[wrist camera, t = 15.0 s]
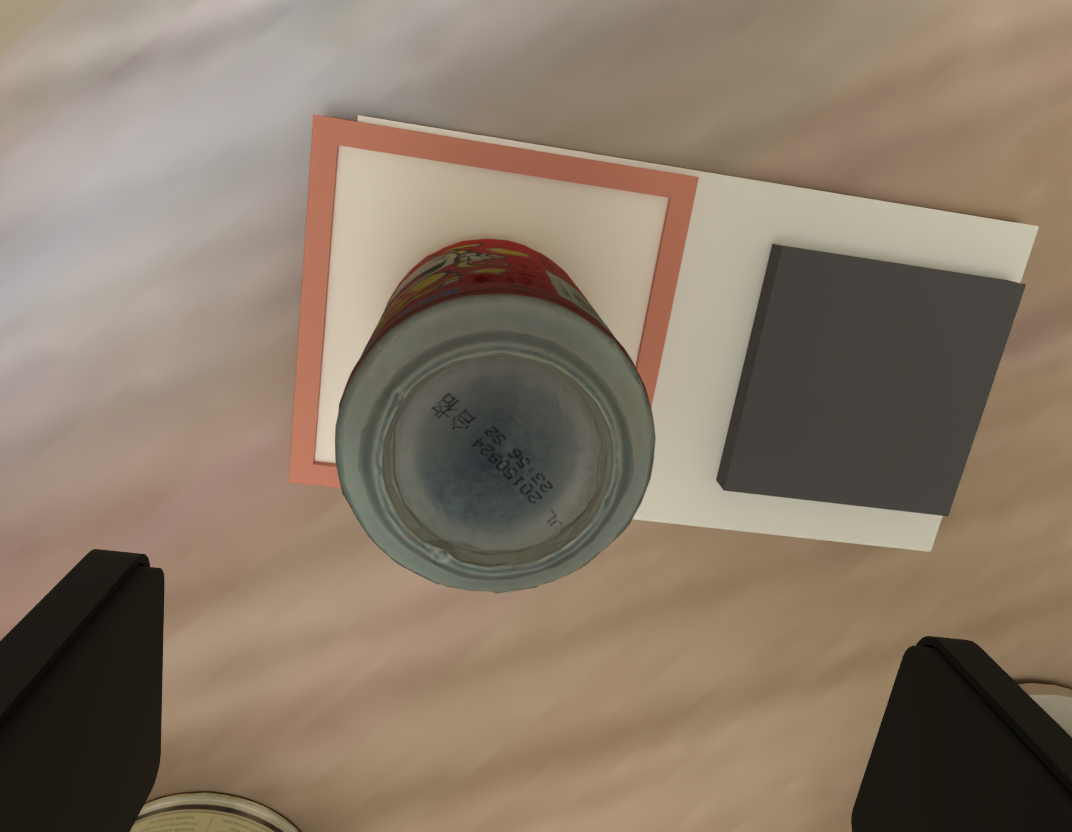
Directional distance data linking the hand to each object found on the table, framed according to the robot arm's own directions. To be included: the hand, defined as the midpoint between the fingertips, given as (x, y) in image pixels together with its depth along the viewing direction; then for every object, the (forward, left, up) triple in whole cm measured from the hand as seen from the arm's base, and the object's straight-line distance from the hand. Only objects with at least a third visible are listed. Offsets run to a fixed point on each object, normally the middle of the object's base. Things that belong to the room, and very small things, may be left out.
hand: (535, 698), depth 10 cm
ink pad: (-14, 0, -20) cm, 24 cm away
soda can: (0, 0, -20) cm, 20 cm away
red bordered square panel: (0, 0, -20) cm, 20 cm away
